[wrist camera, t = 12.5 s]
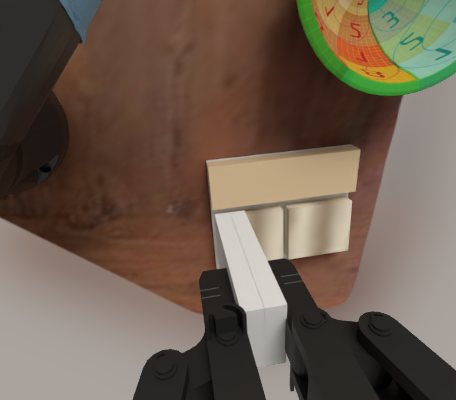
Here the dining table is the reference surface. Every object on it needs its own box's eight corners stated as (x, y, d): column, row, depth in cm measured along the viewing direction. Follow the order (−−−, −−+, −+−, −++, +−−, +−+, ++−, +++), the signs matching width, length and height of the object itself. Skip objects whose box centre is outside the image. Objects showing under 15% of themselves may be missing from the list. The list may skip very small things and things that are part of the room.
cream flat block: (219, 262, 48) (220, 269, 46) (214, 213, 45) (216, 219, 43) (279, 253, 49) (283, 260, 47) (279, 205, 46) (282, 210, 44)
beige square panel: (284, 253, 49) (288, 259, 48) (284, 204, 46) (288, 209, 44) (342, 244, 50) (347, 250, 49) (345, 196, 47) (352, 201, 46)
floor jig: (216, 266, 50) (218, 276, 48) (205, 160, 42) (208, 167, 40) (339, 247, 52) (347, 256, 50) (350, 144, 45) (360, 149, 42)
